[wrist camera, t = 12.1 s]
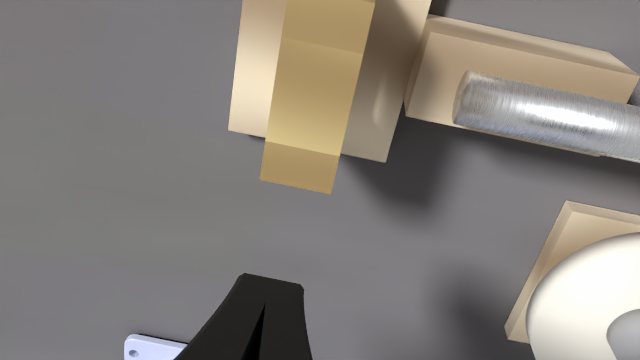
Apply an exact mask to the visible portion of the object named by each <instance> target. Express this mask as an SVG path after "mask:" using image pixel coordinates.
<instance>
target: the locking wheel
mask: <svg viewBox="0 0 640 360" xmlns="http://www.w3.org/2000/svg"><path fill="white" fill-rule="evenodd" d="M525 326H526V331H527V336H528V339H529V342H530V345H531V348H532V351H533V353H534V356H535V359H536V360H640V232H635V233H628V234H623V235H617V236H613V237H610V238H606V239H603V240H600V241H597V242H595V243H592V244H590V245H587V246H585V247H583V248H581V249H579V250H578V251H576V252H574V253H572V254H571V255H569V256H568V257H566V258H565V259H563V260H562V261H560V262H559V263H558V264H557V265H556V266H554V267H553V268H552V269H551V270H550V271H549V272H548V273H547V274H546V275H545V276H544V277H543V278H542V280H541V281H540V282H539V284H538V285H537V286H536V288H535V290H534V292H533V294H532V295H531V298H530V300H529V303H528V306H527V311H526V317H525Z"/></svg>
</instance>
